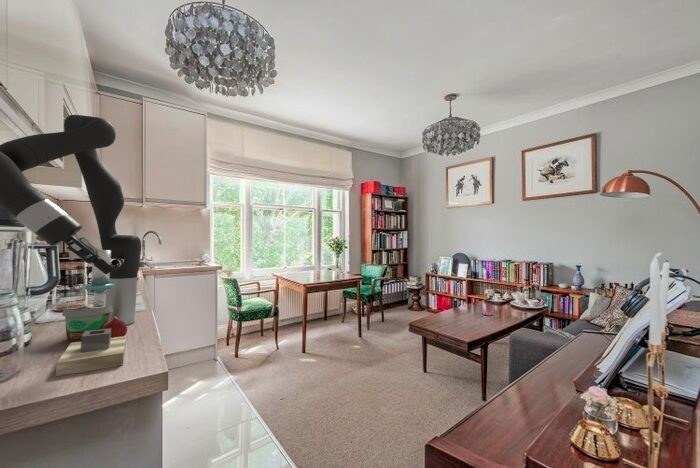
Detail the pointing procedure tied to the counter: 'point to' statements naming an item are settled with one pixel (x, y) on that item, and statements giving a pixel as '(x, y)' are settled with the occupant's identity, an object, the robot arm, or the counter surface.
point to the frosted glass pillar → (100, 280)
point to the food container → (84, 321)
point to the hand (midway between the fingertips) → (110, 270)
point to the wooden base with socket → (92, 353)
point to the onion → (117, 328)
